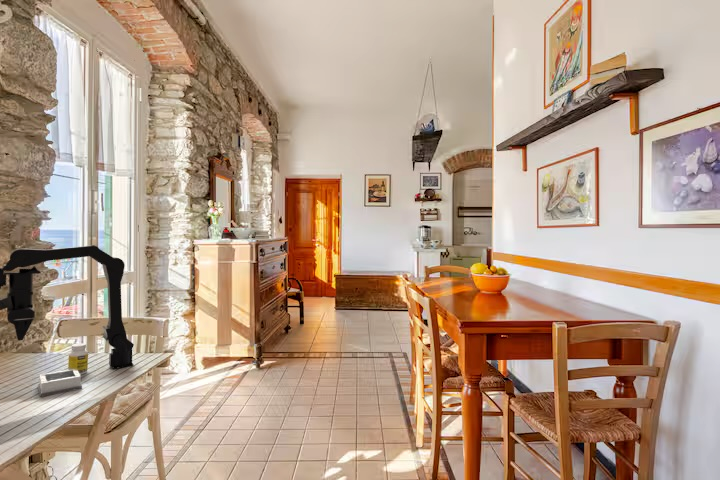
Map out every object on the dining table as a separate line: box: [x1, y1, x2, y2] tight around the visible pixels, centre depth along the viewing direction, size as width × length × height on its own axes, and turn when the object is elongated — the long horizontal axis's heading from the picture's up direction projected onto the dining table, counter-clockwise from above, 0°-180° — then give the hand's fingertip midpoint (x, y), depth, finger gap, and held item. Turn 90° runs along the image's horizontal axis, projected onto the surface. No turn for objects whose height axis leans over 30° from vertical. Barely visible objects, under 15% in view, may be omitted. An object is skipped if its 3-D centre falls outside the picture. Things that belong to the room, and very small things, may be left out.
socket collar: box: [37, 368, 83, 398], centre depth 120 cm, size 10×10×4 cm
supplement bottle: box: [67, 342, 89, 376], centre depth 133 cm, size 5×5×10 cm
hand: (19, 337), depth 123 cm, fingers open, 9 cm apart
